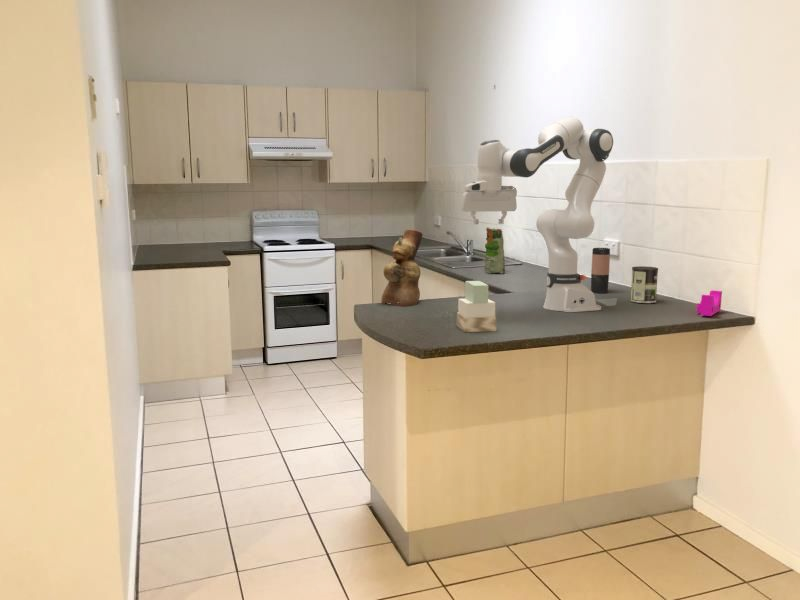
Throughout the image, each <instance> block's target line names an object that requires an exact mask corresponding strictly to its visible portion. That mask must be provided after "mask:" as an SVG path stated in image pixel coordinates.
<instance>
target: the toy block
mask: <svg viewBox="0 0 800 600" xmlns="http://www.w3.org/2000/svg"><path fill="white" fill-rule="evenodd" d="M722 295H723V291H722V290H710V291H709V294H702V295H701V300H700V302H699V303H698V302H697V304H696V305H697V306H696V313H699V314H700V316H705V317H706V316H707V317H711V316H714V315H715V314H716V313H718V312H720V311H721V310H722V297H723V296H722Z"/></svg>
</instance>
